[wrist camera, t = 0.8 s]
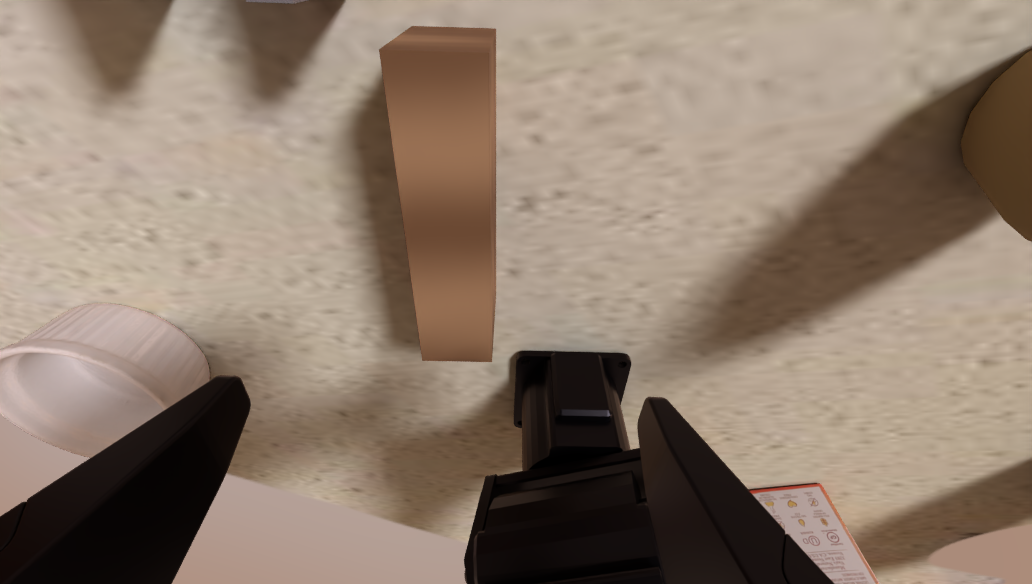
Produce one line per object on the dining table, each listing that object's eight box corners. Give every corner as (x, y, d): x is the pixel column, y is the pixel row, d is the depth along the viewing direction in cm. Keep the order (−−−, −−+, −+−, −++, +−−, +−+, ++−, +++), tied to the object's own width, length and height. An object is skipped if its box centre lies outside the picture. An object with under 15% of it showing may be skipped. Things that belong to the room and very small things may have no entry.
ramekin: (51, 370, 27) (-17, 431, 24) (49, 264, 22) (-36, 321, 19) (209, 418, 30) (169, 480, 26) (236, 333, 25) (191, 394, 22)
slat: (496, 292, 24) (491, 362, 20) (438, 291, 24) (422, 360, 20) (496, 28, 16) (489, 53, 12) (412, 25, 16) (379, 49, 12)
